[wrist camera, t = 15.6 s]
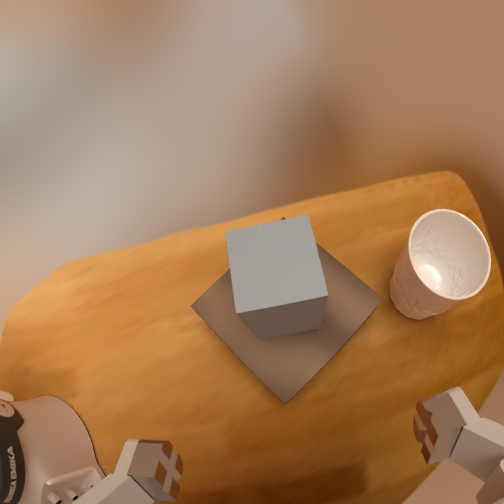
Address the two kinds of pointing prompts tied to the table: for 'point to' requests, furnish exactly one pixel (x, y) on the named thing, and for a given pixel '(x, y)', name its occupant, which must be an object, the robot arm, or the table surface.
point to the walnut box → (298, 344)
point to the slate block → (277, 277)
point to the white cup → (439, 265)
